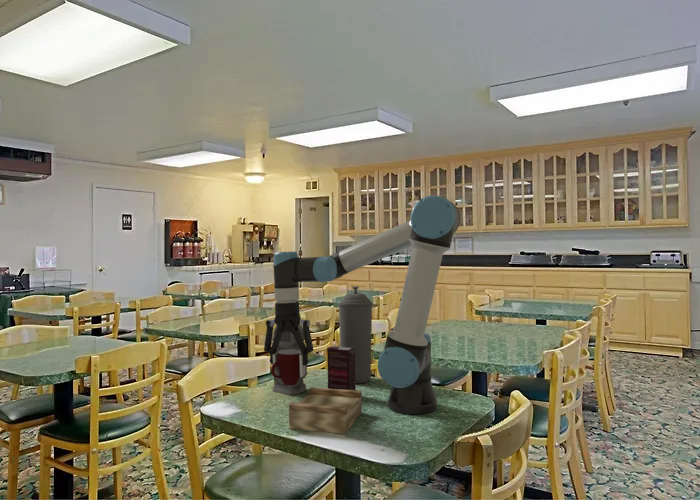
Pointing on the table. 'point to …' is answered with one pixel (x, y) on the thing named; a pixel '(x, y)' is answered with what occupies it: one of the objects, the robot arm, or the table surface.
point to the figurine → (285, 343)
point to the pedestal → (326, 410)
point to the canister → (357, 331)
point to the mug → (288, 366)
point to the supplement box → (341, 368)
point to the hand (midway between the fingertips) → (289, 375)
